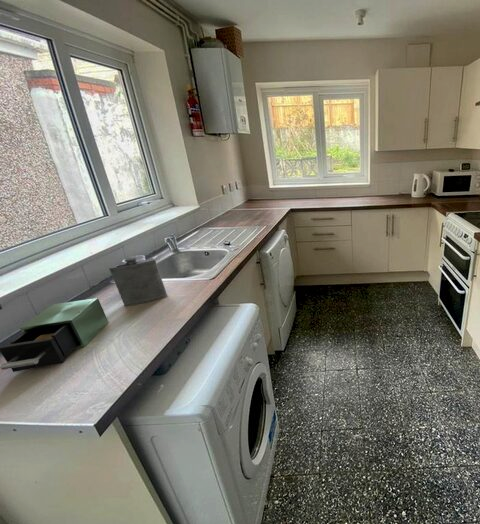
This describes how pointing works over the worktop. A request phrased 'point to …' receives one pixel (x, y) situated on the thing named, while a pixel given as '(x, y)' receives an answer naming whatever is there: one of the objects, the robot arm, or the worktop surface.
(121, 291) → the flask
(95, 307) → the fryer
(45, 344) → the fryer drawer
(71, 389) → the worktop surface
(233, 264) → the worktop surface
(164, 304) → the worktop surface
